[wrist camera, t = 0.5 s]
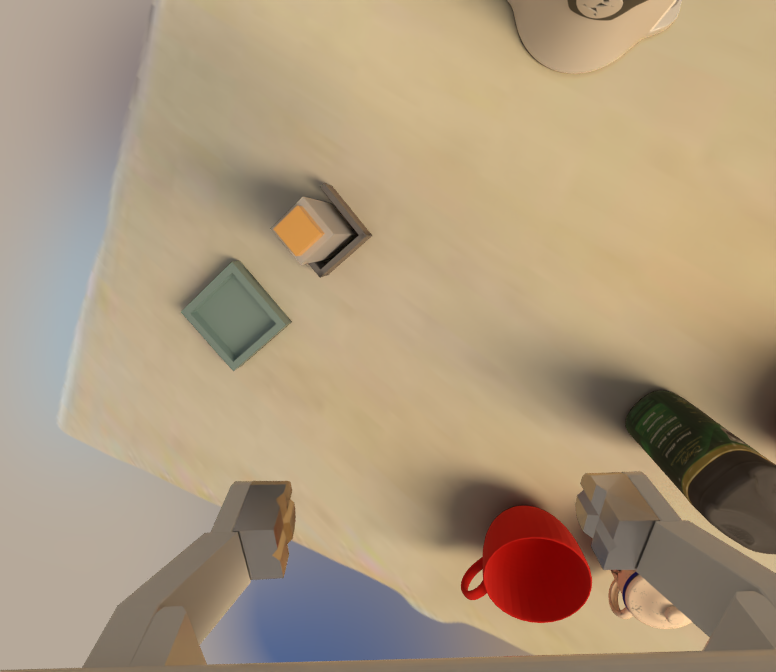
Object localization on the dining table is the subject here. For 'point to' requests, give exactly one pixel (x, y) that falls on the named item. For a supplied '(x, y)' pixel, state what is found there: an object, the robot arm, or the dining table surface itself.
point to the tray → (236, 315)
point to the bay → (363, 236)
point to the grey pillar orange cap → (312, 230)
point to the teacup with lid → (643, 602)
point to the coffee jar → (709, 468)
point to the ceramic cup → (531, 567)
